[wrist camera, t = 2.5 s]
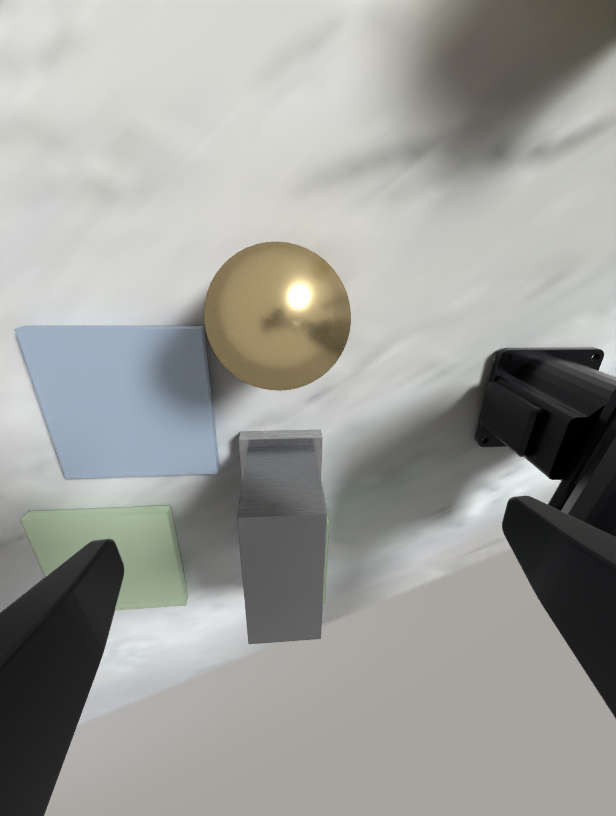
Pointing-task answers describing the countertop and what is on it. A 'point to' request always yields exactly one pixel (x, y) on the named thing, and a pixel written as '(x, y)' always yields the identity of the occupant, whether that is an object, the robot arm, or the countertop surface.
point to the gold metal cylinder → (277, 316)
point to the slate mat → (124, 398)
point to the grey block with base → (282, 534)
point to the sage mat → (135, 539)
